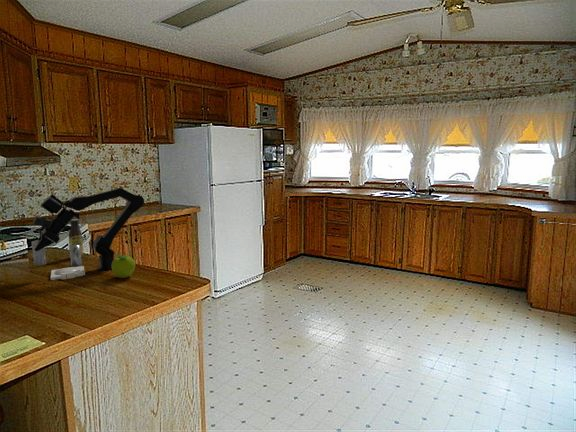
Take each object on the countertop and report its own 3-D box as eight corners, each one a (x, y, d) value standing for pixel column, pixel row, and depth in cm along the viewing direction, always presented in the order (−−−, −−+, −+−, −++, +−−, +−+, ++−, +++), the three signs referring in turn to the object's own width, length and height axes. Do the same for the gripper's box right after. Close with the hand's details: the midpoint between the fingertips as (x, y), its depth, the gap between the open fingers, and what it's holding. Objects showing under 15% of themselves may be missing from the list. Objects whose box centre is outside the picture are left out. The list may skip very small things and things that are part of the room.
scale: (83, 268, 189) (83, 263, 188) (85, 276, 176) (84, 271, 175) (51, 272, 183) (51, 267, 182) (50, 281, 169) (50, 276, 169)
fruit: (116, 281, 167) (114, 258, 166) (110, 276, 174) (108, 254, 173) (139, 277, 173) (137, 254, 172) (131, 272, 180) (129, 250, 179)
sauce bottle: (73, 259, 206) (69, 221, 203) (67, 257, 210) (63, 220, 207) (86, 256, 211) (82, 219, 208) (80, 255, 215) (76, 218, 212)
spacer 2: (83, 265, 194) (81, 245, 193) (74, 267, 191) (72, 246, 189) (78, 264, 197) (76, 244, 195) (69, 266, 193) (67, 246, 191)
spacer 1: (48, 263, 173) (45, 240, 171) (37, 266, 169) (34, 242, 167) (43, 262, 175) (40, 239, 173) (32, 264, 171) (29, 241, 170)
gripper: (42, 207, 178) (15, 235, 173) (46, 211, 163) (17, 242, 158) (64, 222, 184) (39, 249, 179) (70, 227, 169) (43, 258, 164)
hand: (34, 249), depth 170 cm, fingers closed on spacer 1, 4 cm apart
